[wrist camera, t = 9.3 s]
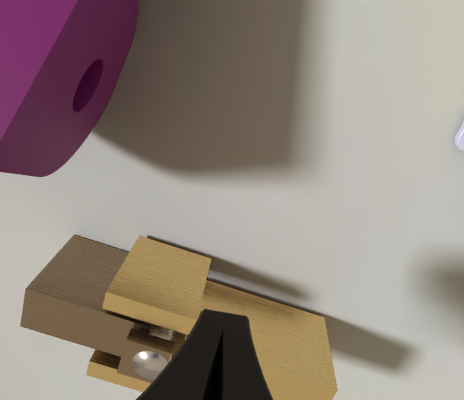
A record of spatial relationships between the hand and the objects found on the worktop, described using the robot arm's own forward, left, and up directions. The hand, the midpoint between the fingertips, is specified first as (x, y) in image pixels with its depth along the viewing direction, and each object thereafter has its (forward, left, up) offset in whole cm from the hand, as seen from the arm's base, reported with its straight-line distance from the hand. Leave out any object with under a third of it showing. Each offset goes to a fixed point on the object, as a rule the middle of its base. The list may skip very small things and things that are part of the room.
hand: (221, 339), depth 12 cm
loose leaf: (-1, +6, -10) cm, 11 cm away
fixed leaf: (+4, +6, -10) cm, 12 cm away
